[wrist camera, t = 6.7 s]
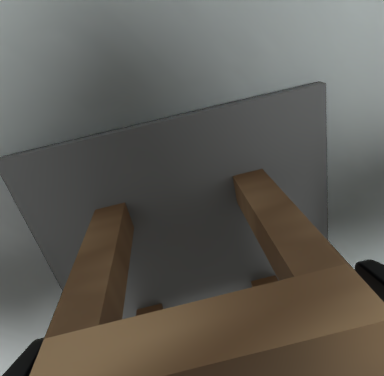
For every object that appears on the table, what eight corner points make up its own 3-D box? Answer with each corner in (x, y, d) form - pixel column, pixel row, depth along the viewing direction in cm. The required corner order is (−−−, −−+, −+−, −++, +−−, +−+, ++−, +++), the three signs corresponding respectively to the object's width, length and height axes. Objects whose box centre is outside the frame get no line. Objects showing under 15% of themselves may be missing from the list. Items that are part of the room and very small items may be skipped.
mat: (319, 81, 9) (325, 83, 9) (324, 311, 13) (328, 318, 13) (0, 157, 9) (-7, 161, 9) (108, 363, 13) (106, 372, 13)
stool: (262, 168, 10) (397, 317, 4) (277, 293, 12) (377, 491, 7) (94, 209, 10) (14, 413, 4) (143, 326, 12) (132, 552, 7)
